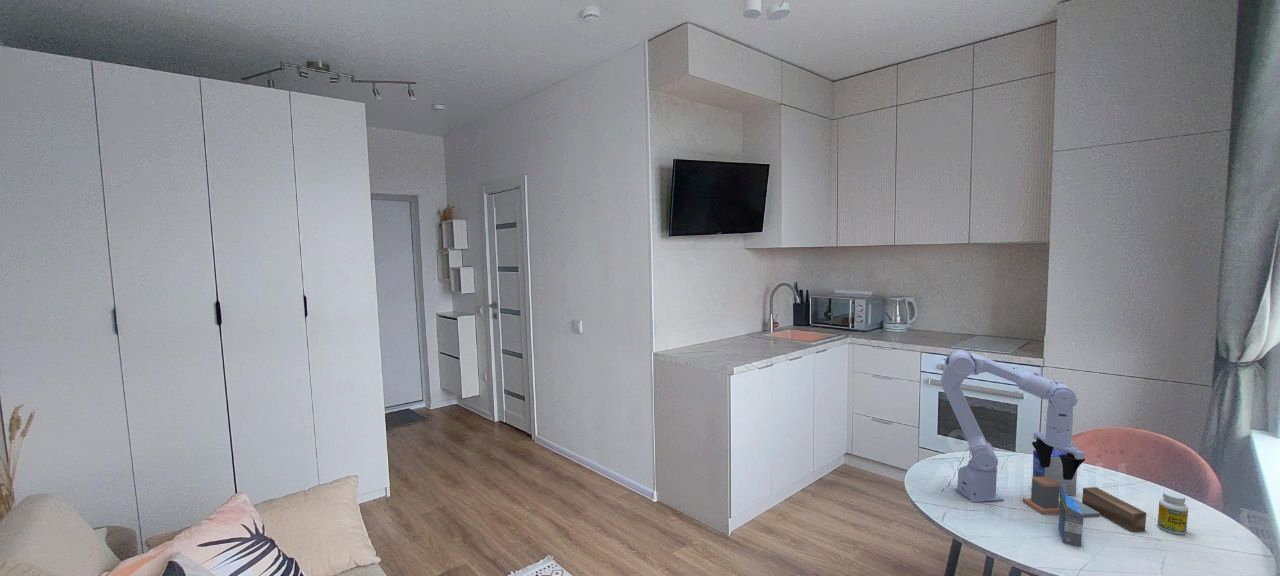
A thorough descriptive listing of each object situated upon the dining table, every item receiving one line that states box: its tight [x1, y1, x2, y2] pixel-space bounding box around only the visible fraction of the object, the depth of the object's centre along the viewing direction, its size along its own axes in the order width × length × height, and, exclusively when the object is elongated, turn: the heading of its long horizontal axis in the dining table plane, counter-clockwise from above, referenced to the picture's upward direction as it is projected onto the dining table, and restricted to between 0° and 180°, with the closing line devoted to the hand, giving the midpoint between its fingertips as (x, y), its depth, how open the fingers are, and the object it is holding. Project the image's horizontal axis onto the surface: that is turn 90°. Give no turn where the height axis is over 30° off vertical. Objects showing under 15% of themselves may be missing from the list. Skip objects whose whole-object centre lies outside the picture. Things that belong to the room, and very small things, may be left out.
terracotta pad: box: [1022, 497, 1060, 515], centre depth 148 cm, size 7×7×1 cm
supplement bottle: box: [1157, 490, 1189, 535], centre depth 136 cm, size 5×5×10 cm
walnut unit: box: [1081, 486, 1147, 533], centre depth 143 cm, size 4×14×5 cm, turn 4°
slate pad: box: [1059, 499, 1101, 518], centre depth 146 cm, size 7×7×1 cm
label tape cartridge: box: [1057, 483, 1085, 547], centre depth 134 cm, size 9×4×12 cm, turn 148°
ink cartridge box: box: [1032, 448, 1078, 496], centre depth 157 cm, size 10×6×14 cm, turn 89°
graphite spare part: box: [1030, 476, 1060, 509], centre depth 148 cm, size 4×4×7 cm
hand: (1056, 473), depth 147 cm, fingers open, 7 cm apart
